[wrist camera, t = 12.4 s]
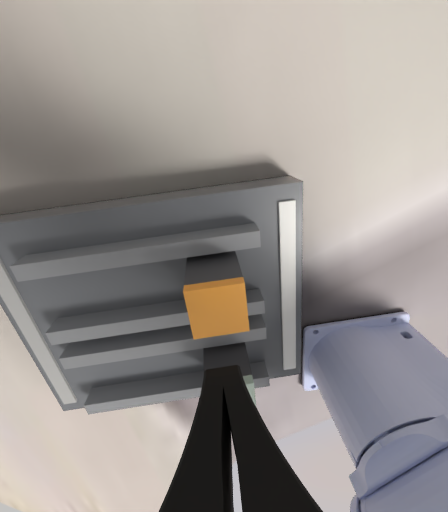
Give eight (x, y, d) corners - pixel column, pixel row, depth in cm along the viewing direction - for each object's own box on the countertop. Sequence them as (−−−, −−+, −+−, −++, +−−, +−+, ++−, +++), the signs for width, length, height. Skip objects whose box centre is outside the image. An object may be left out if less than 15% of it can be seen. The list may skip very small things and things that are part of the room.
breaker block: (289, 175, 17) (340, 198, 11) (291, 351, 24) (323, 427, 18) (-12, 216, 17) (-138, 265, 11) (76, 384, 24) (31, 475, 17)
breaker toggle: (234, 247, 17) (244, 282, 13) (238, 287, 18) (249, 331, 14) (187, 254, 16) (183, 291, 12) (195, 293, 18) (193, 339, 14)
